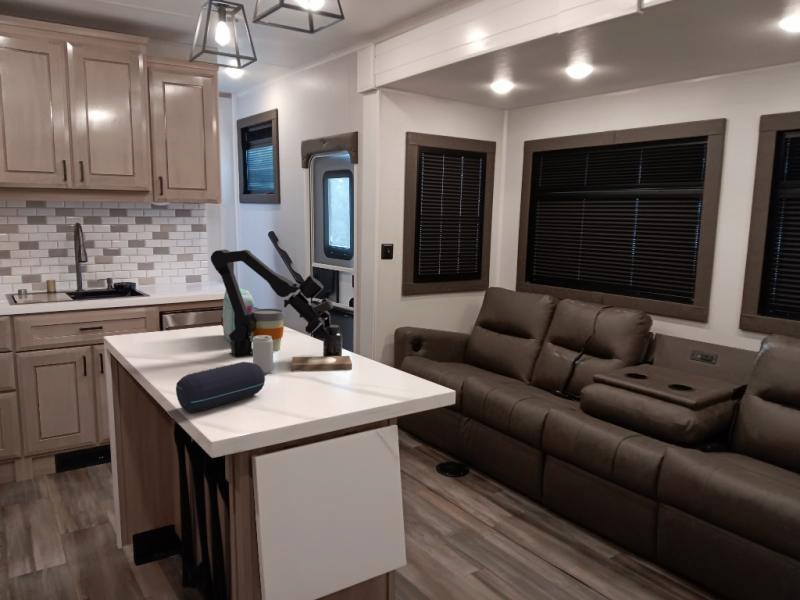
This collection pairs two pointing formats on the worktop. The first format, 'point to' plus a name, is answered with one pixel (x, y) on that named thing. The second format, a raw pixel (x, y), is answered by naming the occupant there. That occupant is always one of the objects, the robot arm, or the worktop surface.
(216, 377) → the portable speaker
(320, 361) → the walnut plinth
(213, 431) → the worktop surface
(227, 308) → the lunch box
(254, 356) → the beverage can
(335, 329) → the supplement bottle
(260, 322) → the reusable coffee cup
